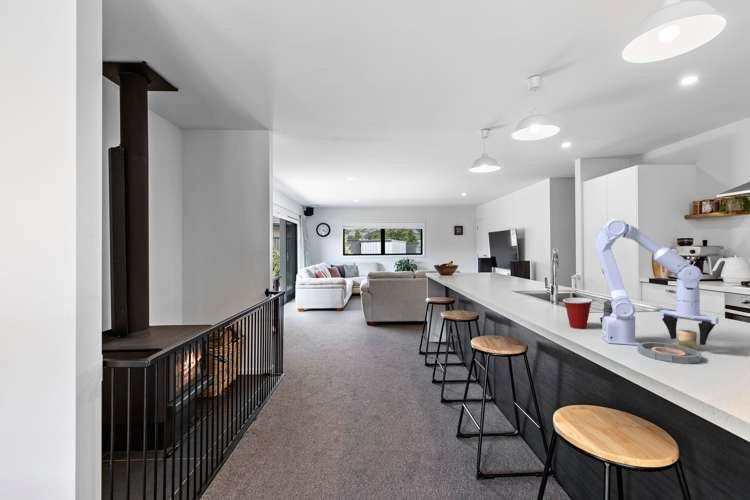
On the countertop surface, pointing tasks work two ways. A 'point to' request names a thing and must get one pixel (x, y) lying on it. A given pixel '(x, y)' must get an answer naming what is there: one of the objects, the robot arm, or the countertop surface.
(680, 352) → the round tray
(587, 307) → the plastic cup
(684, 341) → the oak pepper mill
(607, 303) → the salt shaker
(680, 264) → the robot arm
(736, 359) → the countertop surface
